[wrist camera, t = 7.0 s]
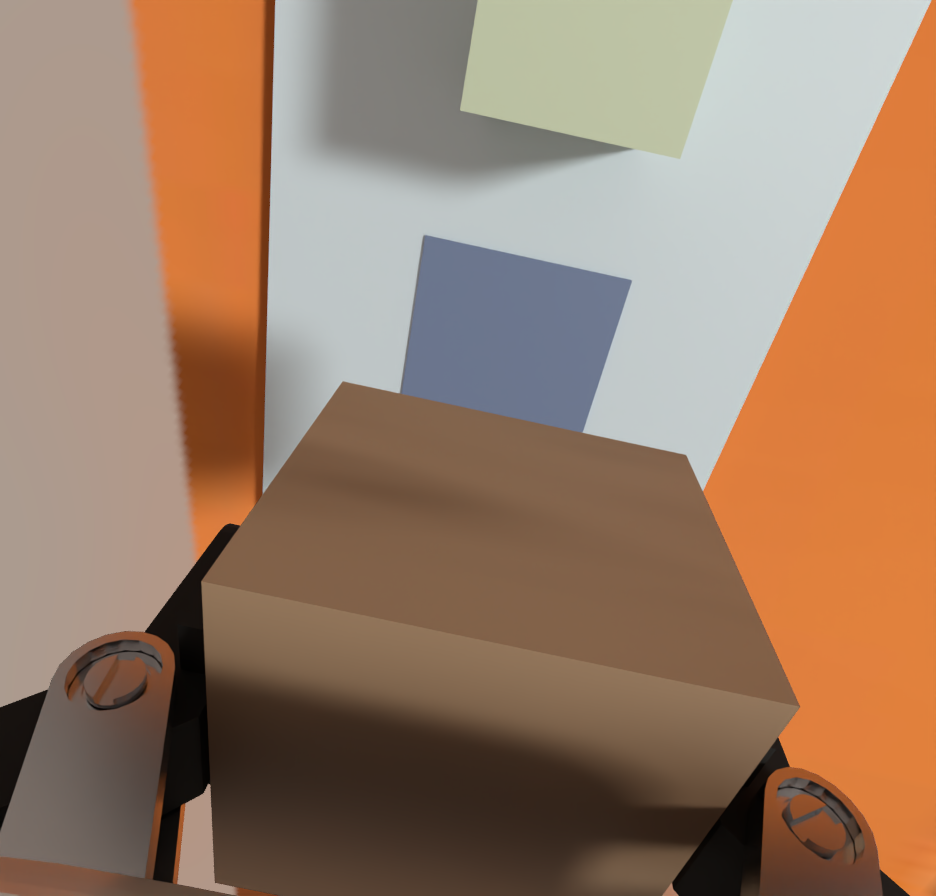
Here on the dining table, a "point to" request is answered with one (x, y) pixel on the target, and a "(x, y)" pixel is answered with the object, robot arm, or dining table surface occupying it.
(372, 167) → the board
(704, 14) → the sage block
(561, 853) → the walnut block
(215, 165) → the dining table surface
